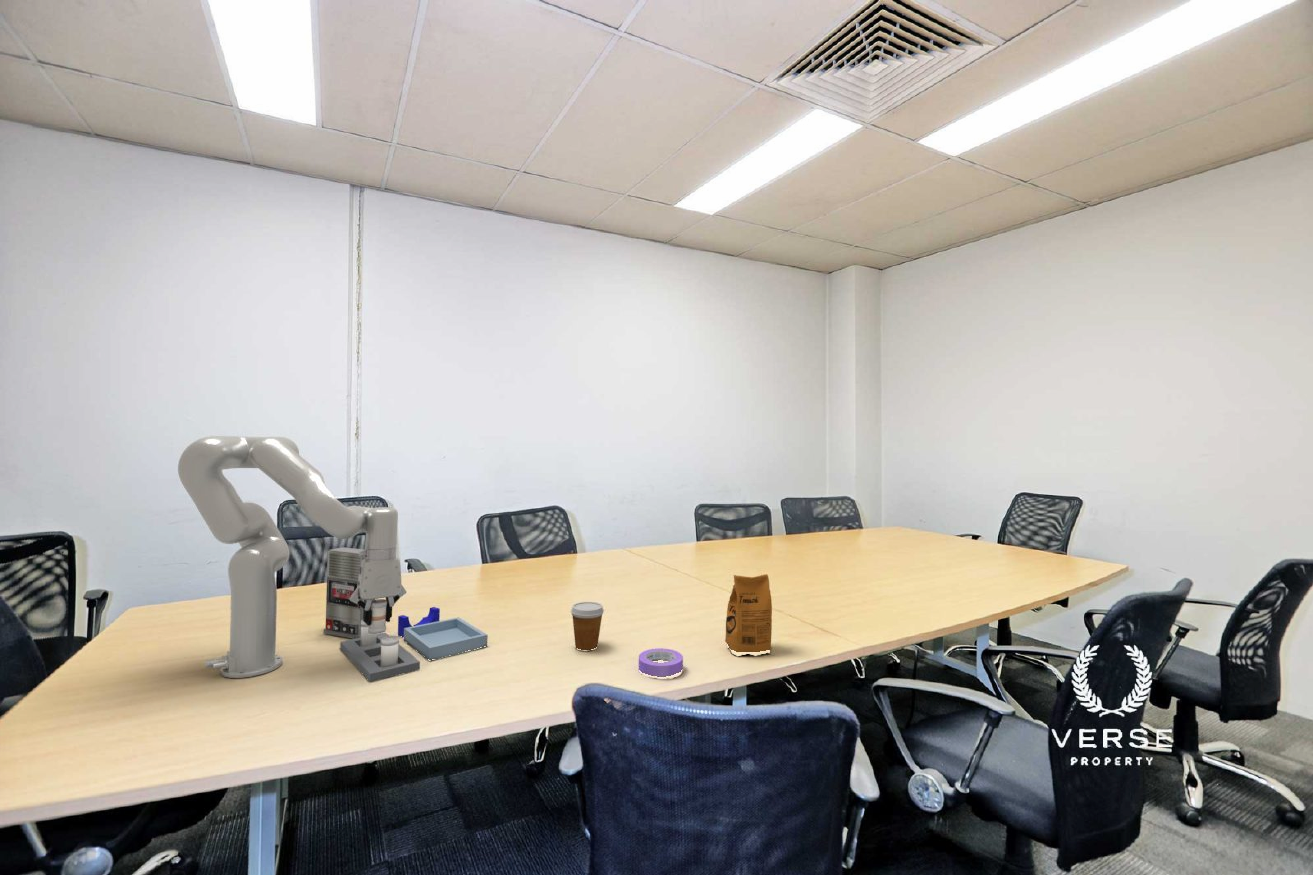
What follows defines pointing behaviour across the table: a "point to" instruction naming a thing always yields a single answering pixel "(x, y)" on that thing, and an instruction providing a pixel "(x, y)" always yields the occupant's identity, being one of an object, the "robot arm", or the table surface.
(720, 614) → the table surface
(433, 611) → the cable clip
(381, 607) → the marked fuse
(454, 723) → the table surface
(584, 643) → the disposable coffee cup
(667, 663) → the masking tape
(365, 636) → the cylinder
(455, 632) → the tray
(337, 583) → the cassette tape recorder
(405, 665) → the fuse holder
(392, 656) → the cylinder
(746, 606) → the coffee package
